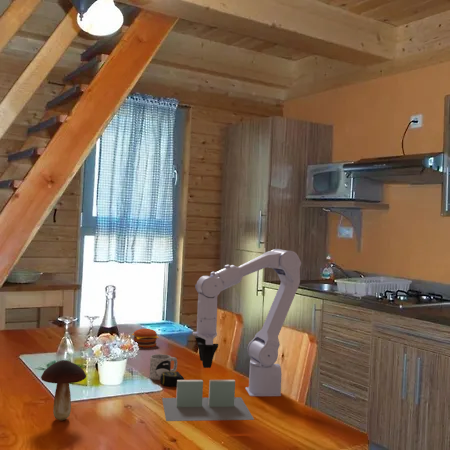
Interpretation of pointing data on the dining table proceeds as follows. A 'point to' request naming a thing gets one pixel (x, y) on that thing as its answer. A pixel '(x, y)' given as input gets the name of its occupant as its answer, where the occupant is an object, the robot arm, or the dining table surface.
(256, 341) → the robot arm
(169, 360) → the mug
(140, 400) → the dining table surface
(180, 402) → the tile
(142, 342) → the hamburger
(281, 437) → the dining table surface
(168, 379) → the tape measure
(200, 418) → the mat
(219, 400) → the tile
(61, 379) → the decorative mushroom
